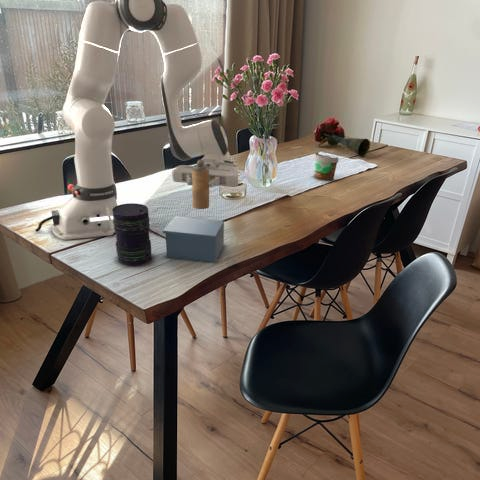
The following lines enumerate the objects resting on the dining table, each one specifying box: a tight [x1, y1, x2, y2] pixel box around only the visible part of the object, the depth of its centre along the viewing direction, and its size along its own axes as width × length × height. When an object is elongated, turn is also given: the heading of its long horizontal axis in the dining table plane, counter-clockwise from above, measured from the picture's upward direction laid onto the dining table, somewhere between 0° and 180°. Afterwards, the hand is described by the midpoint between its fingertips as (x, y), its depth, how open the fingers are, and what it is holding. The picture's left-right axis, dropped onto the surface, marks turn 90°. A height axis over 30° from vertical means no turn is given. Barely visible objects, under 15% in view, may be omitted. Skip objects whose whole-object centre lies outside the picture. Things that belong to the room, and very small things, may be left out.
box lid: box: [162, 215, 225, 238], centre depth 143 cm, size 15×12×1 cm
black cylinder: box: [112, 202, 153, 267], centre depth 137 cm, size 10×10×15 cm
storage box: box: [165, 223, 225, 263], centre depth 145 cm, size 15×12×7 cm
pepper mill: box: [191, 159, 210, 210], centre depth 143 cm, size 5×5×14 cm
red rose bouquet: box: [313, 117, 371, 158], centre depth 262 cm, size 16×18×35 cm
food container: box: [313, 151, 339, 181], centre depth 213 cm, size 12×6×10 cm, turn 42°
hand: (200, 183), depth 142 cm, fingers closed on pepper mill, 5 cm apart
